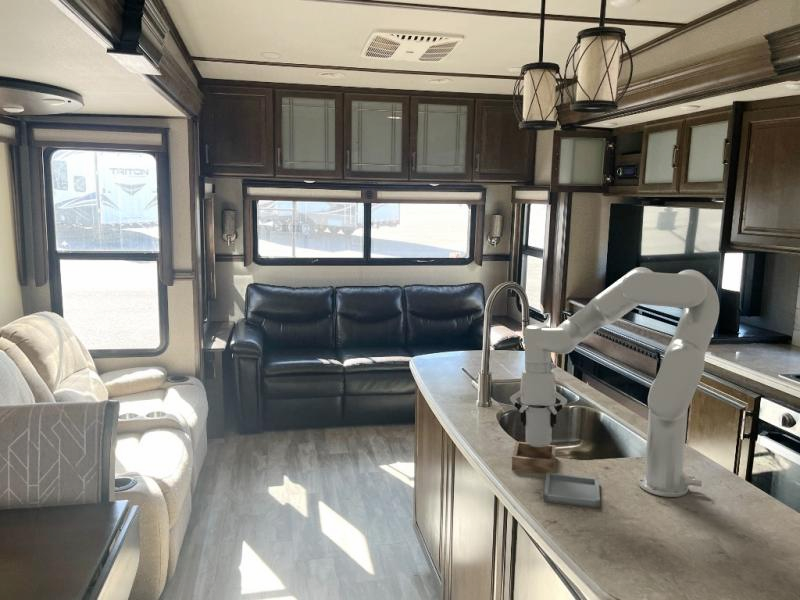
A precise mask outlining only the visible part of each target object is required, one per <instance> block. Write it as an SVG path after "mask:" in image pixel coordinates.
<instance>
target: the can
mask: <svg viewBox="0 0 800 600" xmlns="http://www.w3.org/2000/svg"><path fill="white" fill-rule="evenodd" d="M525 412H526V425H525V442H526V443H529V445H531V446H533V447H546V446H548V445H551V443H552V440H553V436H552V429H553V427H551V412H552V411H551V409H550V408H549V406H532V405H527V407H526V408H525Z"/></svg>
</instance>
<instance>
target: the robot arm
mask: <svg viewBox="0 0 800 600" xmlns="http://www.w3.org/2000/svg"><path fill="white" fill-rule="evenodd" d="M719 300H720V299H719V296H718V293H717V290H716V288H715V286H714V284H713V283H712V282H711V281H710V279H708V278H707V276H705V275H704V274H703V273H702V272H700V271H697V270H695V269H684V270H681V271H680V272H678V273H670V272H669V273H668V272H656V271H655V272H654V271H653V270H651V269H650V268H647V267H644V266H639V267H635V268H633V269H631V270H630V271H628V272H627V273H626V274H625V275H623V276H622V277H621V278H619V279H617V280H616V281H615V282H614V283H612V284H610V286H608V287H607V288H606V289H604V290H603V291H601V292H600V293H599V294H597V295H596V296H595V297H593V298H592V299H591V300H590V301H589V302H588V303H586V305H585V306H584V307H582V308H580V310H578V311H577V312H575V313H574V314H573V315H571V316H570V317H568V319H565V320H564V321H563V322H562V323H561V324H559V325H558V326H557V327H555V328H551V327H550V326H549V325H547V324H542V323H541V324H540V323H534V324H529V325H527V326H526V327H525V328H524V333H523V335H524V369H523V370H522V371H521V373H522V374H521V378H520V379H521V380H520V390H518V391H517V392H515V393H514V394H512V395H511V396H510V397H509V401H510V402H511V403H512V404H513V405H514V407H515V408H516V409H517V410H518V411H519V413H520V423H522V426H523V427H526V412H525V410H526V408H527V407H528V406H527V405H532V406H549V408H550V409H551V427H552V429H553V428H554V427H555V425H557V414H558V413H559V412H560V411H561V410H562V409H563V407H565V406H566V404H567V403H568V399H567V398H566V397H565V396H563V395H562V394H561V393H559V392H558V391H557V382H556V375H555V371H554V369H557V363H554V362H553V361H552V353H553V354H558V355H567V354H569V353H571V352H573V351H574V349H576V347H577V346H578V345H579V344H580V343H581V342H582V341H584V340H585V339H586V338H588V337H589V336H590V335H592V334H594V333H595V332H596V331H598V330H600V329H601V328H603V327H605V326H608V325H612V324H613V323H615V322H617V321H618V320H620V319H621V318H622V317H624V315H627V314H628V313H629V312H631V311H632V310H634V309H635V308H636V307H638V306H639V305H646V306H655V307H656V306H657V307H665V308H666V307H667V308H668V307H670V308H678V309H682V312H681V315H680V317H679V320H678V323H677V327H676V329H675V331H674V334H673V336H672V338H671V341H670V342H669V345H668V346H667V347H666V349H665V352H664V355H663V359H662V361H661V364H660V367H659V370H658V372H657V374H656V377H655V379H653V381H652V382H651V385H650V387H649V392H648V396H647V407H648V417H647V433H646V447H645V448H646V450H645V451H646V452H645V465H644V473H643V474H642V475H640V476H638V480H637V483H638V486H639V487H640V488H642V489H643V491H646V492H647V493H650V494H653V495H656V496H661V497H664V498H665V497H668V498H676V497H677V498H678V497H683V496H684V495H686V494H688V491H689V486H694V487H700V488H701V487H702V484H703V481H702V479H701V478H696V476H695V475H689V474H688V475H686V474H685V473H684V463H685V461H684V460H685V450H686V449H685V447H686V437H687V436H686V435H687V422H688V411H689V410H688V409H689V407H690V404H691V403H692V399H693V398H694V395H695V393H696V391H697V389H698V386H699V383H700V382H701V380H702V376H703V373H704V370H705V356H706V352H707V350H708V348H709V346H710V343H711V339H712V337H713V334H714V332H715V329H716V326H717V323H718V319H719V315H720V301H719ZM518 398H520V402H519V401H518V400H517V399H518ZM557 399H558V400H559V401H560V402H559V403H558V404H557V405H556V401H557Z"/></svg>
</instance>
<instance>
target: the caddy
mask: <svg viewBox="0 0 800 600" xmlns="http://www.w3.org/2000/svg"><path fill="white" fill-rule="evenodd" d="M556 451H557V445H556V444H555V445H553V444H549V445H548V446H546V447H533V446H531V445H529V443H527V442H526V441H525V442H523V441H516V442H515V445H514V448H513V452H512V455H511V456H512V457H511V471H519V472H528V473H535V474H545V475H546V473H547V472H548V473H555V466H556V456H557V455H556V453H557V452H556Z"/></svg>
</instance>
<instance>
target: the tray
mask: <svg viewBox="0 0 800 600" xmlns="http://www.w3.org/2000/svg"><path fill="white" fill-rule="evenodd" d="M544 483H545V484H544V491H543V502H544V503H545V502H546V503H554V504H562V505H571V506H578V507H584V508H585V507H586V508H594V509H595V508H596V509H600V507H601V496H600V494H601V493H600V484H599V483H600V481H599V478H598V477H591V476H582V475H581V476H580V475H572V474H563V473H555V472H554V473H548V472H547V473H546V474H545V482H544Z"/></svg>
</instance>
